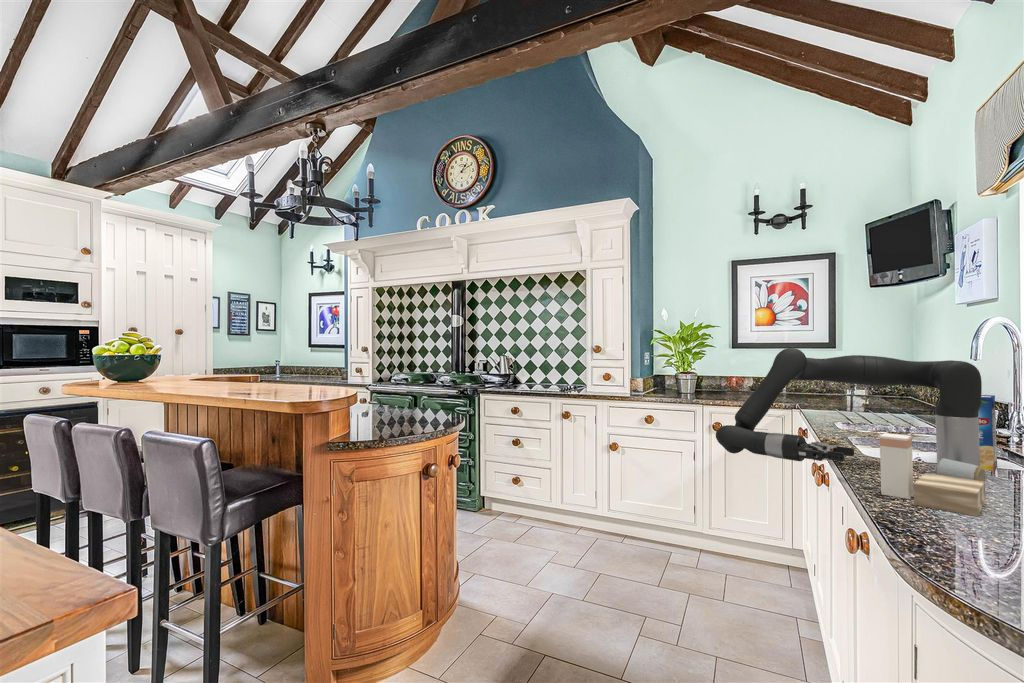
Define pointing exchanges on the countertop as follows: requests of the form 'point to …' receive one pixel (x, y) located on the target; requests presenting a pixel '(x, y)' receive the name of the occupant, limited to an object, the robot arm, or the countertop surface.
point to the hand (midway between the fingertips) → (849, 454)
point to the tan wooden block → (950, 493)
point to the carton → (896, 465)
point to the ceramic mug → (960, 470)
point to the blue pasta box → (987, 433)
